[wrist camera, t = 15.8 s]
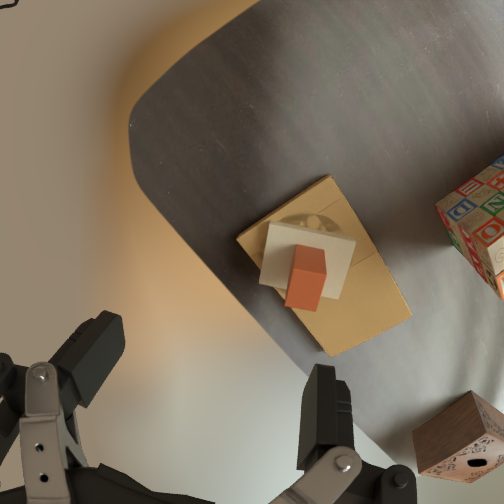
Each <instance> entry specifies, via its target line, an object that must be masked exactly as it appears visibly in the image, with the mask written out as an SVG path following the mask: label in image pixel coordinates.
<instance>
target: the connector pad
mask: <svg viewBox="0 0 504 504" xmlns="http://www.w3.org/2000/svg"><path fill="white" fill-rule="evenodd" d="M355 245H356V240H355V238H353V237H349V236H344V235H339V234H335V233H330V232H325V231H321V230H316V229H311V228H306V227H301V226H297V225H292V224H287V223H282V222H277V221H272V220H271V221H270V223H269V228H268V234H267V239H266V245H265V251H264V257H263V262H262V268H261V274H260V279H259V284H263V285H268V286H273V287H277V288H282V289H287V291H286V297H285V304H284V305H285V306H287V307H292V308H297V309H302V310H307V311H312V312H316V310H317V307H318V304H319V301H320V297H321V296H322V297H328V298H333V299H339V296H340V293H341V290H342V287H343V284H344V281H345V278H346V275H347V271H348V268H349V265H350V262H351V258H352V255H353V252H354V248H355Z"/></svg>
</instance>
